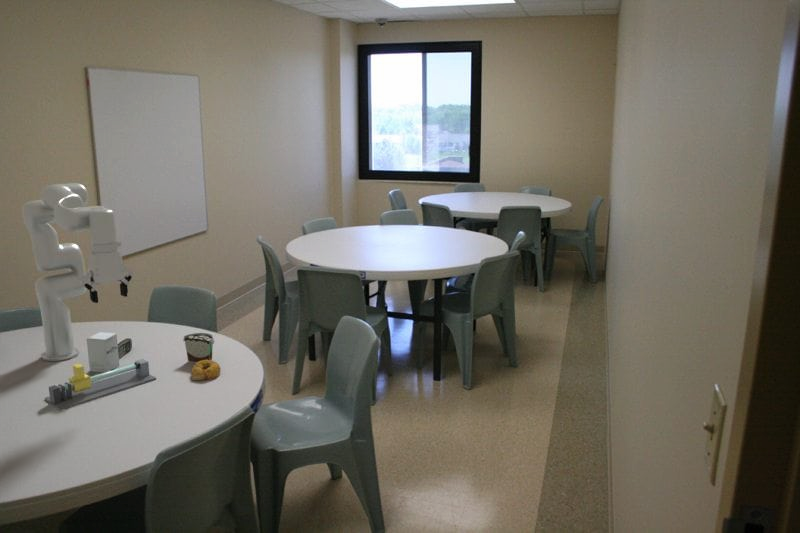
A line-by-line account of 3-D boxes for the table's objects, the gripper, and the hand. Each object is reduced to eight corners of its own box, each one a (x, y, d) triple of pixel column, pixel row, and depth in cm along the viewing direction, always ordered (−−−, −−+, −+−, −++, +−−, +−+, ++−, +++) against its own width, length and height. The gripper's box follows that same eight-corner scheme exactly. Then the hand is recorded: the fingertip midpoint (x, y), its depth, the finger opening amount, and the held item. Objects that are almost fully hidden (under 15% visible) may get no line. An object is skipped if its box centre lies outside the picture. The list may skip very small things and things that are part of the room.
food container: (222, 359, 241) (221, 334, 239) (212, 365, 235) (211, 339, 233) (195, 355, 245) (193, 330, 242) (184, 361, 239) (182, 335, 237)
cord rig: (44, 399, 206) (42, 383, 205) (138, 370, 230) (137, 355, 229) (61, 410, 198) (58, 393, 197) (156, 379, 222) (154, 364, 221)
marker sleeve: (70, 389, 208) (67, 366, 206) (85, 384, 211) (83, 362, 210) (75, 392, 205) (73, 369, 203) (91, 387, 209) (88, 365, 207)
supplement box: (107, 373, 227) (104, 339, 224) (89, 371, 229) (85, 338, 226) (120, 365, 234) (117, 332, 231) (102, 363, 236) (99, 331, 233)
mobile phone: (116, 349, 237) (134, 335, 251) (108, 349, 237) (126, 335, 252) (117, 362, 238) (135, 347, 253) (110, 362, 238) (128, 346, 253)
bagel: (183, 378, 224) (183, 365, 222) (205, 368, 233) (205, 356, 232) (205, 384, 219) (205, 371, 218) (226, 373, 229) (226, 361, 228)
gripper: (124, 242, 213) (129, 291, 217) (71, 250, 200) (77, 302, 204) (136, 245, 208) (140, 295, 212) (82, 253, 195) (88, 307, 199)
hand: (109, 299), depth 208 cm, fingers open, 9 cm apart
